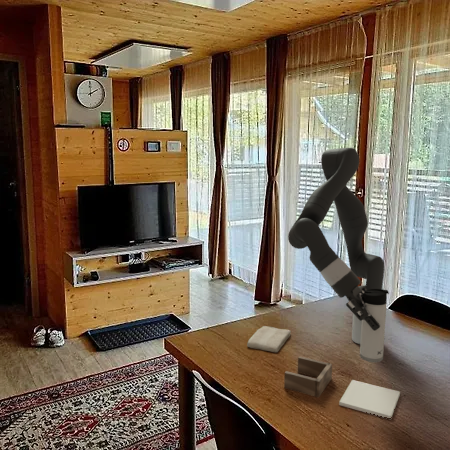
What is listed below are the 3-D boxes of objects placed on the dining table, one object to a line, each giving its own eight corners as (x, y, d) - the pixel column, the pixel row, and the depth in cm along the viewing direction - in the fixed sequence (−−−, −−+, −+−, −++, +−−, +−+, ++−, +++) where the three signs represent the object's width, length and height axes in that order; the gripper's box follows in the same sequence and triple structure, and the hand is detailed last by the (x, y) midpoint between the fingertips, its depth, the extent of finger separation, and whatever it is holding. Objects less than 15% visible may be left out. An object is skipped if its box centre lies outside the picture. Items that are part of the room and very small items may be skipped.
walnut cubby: (299, 370, 148) (299, 356, 147) (331, 378, 143) (332, 364, 142) (284, 387, 138) (284, 372, 137) (318, 397, 132) (319, 381, 132)
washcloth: (291, 335, 177) (291, 327, 176) (277, 354, 161) (278, 346, 160) (262, 330, 182) (262, 323, 181) (246, 348, 165) (246, 340, 165)
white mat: (352, 382, 141) (352, 379, 140) (399, 394, 134) (400, 391, 133) (339, 404, 129) (339, 401, 128) (390, 419, 122) (391, 416, 121)
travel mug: (385, 363, 125) (390, 294, 122) (360, 361, 127) (364, 292, 123) (382, 353, 131) (386, 287, 128) (358, 351, 133) (362, 285, 129)
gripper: (342, 275, 122) (385, 326, 118) (356, 263, 134) (395, 309, 131) (322, 291, 126) (363, 341, 122) (337, 278, 138) (375, 323, 134)
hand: (380, 324), depth 126 cm, fingers closed on travel mug, 6 cm apart
